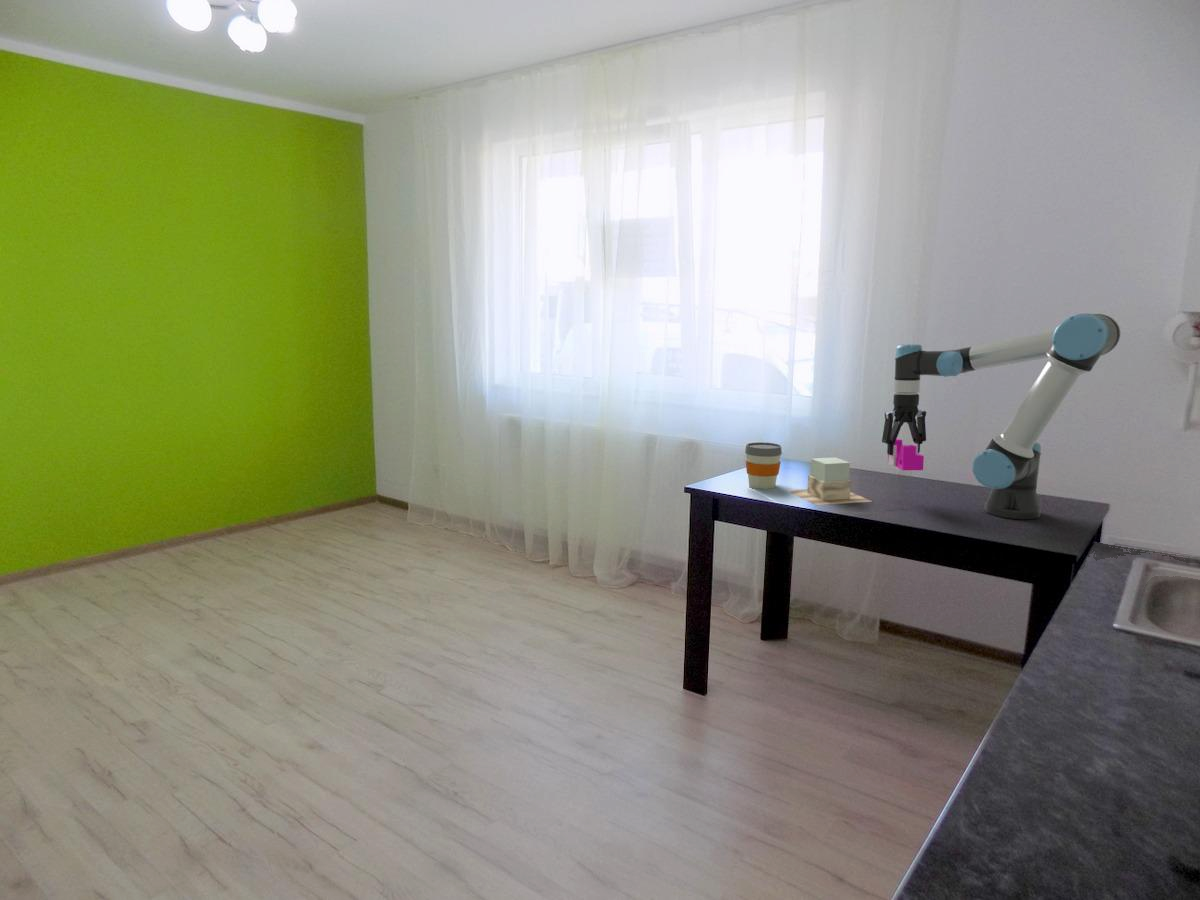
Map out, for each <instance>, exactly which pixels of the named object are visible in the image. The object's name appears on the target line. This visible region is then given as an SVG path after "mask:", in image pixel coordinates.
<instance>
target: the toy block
mask: <svg viewBox="0 0 1200 900" xmlns="http://www.w3.org/2000/svg"><path fill="white" fill-rule="evenodd" d="M894 445H897V449H896V465H895V466H894V467H896V468H898V469H899V470H901V471H924V461H925V456H924V455H923V454H920V453H918V454H916V446H914V445H911V444H903V439H901V438H897V439H896V441H895V444H894ZM887 463H889V455H888V454H887Z"/></svg>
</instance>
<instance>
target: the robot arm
mask: <svg viewBox="0 0 1200 900" xmlns="http://www.w3.org/2000/svg"><path fill="white" fill-rule="evenodd" d="M1120 338H1121V328H1120V326H1119V324H1118V322H1117V321H1116V320H1115V319H1114V318H1113V317H1110V316H1109V315H1106V314H1102V313H1078V314H1075V315H1072V316H1069V317H1067V318H1065V319H1064V320H1062V321H1061V322H1060V323H1059V324H1058V325H1057V327H1056V328H1055V329H1053V330H1047V331H1044V332H1038V333H1033V334H1028V335H1024V336H1018V337H1013V338H1009V339H1004V340H1003V339H1002V340H999V341H994V342H989V343H984V344H978V345H975V346H968V347H963V348H959V349H951V350H931V351H930V350H923V348H922V345H921V344H919V343H917V344H916V343H915V344H914V343H911V344H910V343H907V344H906V343H905V344H898V345H897V347H896V349H895V358H894V360H895V364H894V365H895V366H894V367H895V369H894V385H893V386H894V388H893V392H895V393H894V394H893V403H892V404H893V410H891V411H889V412H888V411H886V412H884V419H885V420H884V425H883V433H882V438H881V442H882V443H883V444H886V445H887V448H886V449H887V450H886V453H887V456H888V455H889V462H888V465H889V466H893V467H896V466H895V465H896V449H897V445H894V444H895V441H896V439H898V436H899V433H900V431H901V428H902V426H903V425H904V423H906V424H907V425H908V428H909V431H910V435H911V438H912V442H910V445H914V446H916V454H920V451H921V445H922V444H923V442H926V441H927V433H926V432H927V428H926V416H927V411H925V410H919V407H918V406H919V405H920V395H919V394H918V393H919V392H920V390H921V388H920V387H921V376H935V377H937V376H939V377H944V378H945V377H956V376H958V375H960V374H965V373H968V372H974V371H979V370H986V369H991V368H997V367H1001V366H1007V365H1013V364H1019V363H1025V362H1031V361H1036V360H1043V359H1047V362H1046V364H1045V366H1044V367H1043V368H1042V370H1041V372H1040V373H1039V375H1037V378H1036V380H1035V382H1034V383H1033V384H1032V386H1031V387H1030V389H1029V391H1028V392H1027V394H1026V395H1025V397H1024V399H1023V400H1022V402H1021V404H1020V405H1019V406H1018V408H1017V410H1016V411H1015V412H1014V414H1013V416H1012V417H1011V419H1010V421H1009V422H1008V424H1007V426H1006V427H1005V429H1004V430H1003V431H1002V433H1000V434H995V435H993V437H992V438H991V440H990V442H989V443H988V444H987V445H986V448H985V450H983V451H981V452H979V453H978V454H977V455H976V456H975V457H974V460H973V461H972V465H971V467H972V472H973V475H974V478H975V480H976V481H978V483H979V484H980V485H982V486H983V487H985V488H988V489H991V491H990V493H989V496H988V499H987V500H986V501H985V504H984V511H985V512H986V513H988V514H991V515H993V516H996V517H1000V518H1005V519H1006V518H1007V519H1015V520H1034V519H1035V520H1036V519H1038V518H1040V517H1041V511H1042V510H1041V506H1040V503H1039V501H1040V500H1039V497H1038V493H1037V488H1038V487H1037V486H1038V478H1039V469H1040V462H1041V461H1040V459H1041V455H1042V452H1041V451H1042V450H1041V444H1040V443H1039V442H1037V441H1038V439H1039V438H1040V437H1041V435H1042V433H1043V432H1044V430H1045V429H1046V427H1047V426H1048V425H1049V423H1050V421H1052V418H1053V417H1054V415H1055V414H1056V413H1057V411H1058V409H1059V408H1060V406H1061V405H1062V403H1063V401H1065V398H1067V396H1068V394H1069V393H1070V391H1071V389H1072V388H1073V386H1074V385H1075V384H1076V382H1077V381H1078V379H1079V378H1080V376H1081V375H1083V374H1087V373H1091V371H1092V370H1093V368H1094V367H1095V365H1096V363H1097V362H1098V361H1099V359H1100V358H1101V356H1104V355H1106V354H1109V353H1110V352H1111V351H1113V350H1114V349H1115V348H1116V347H1117V345H1118V344H1119V341H1120Z"/></svg>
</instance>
